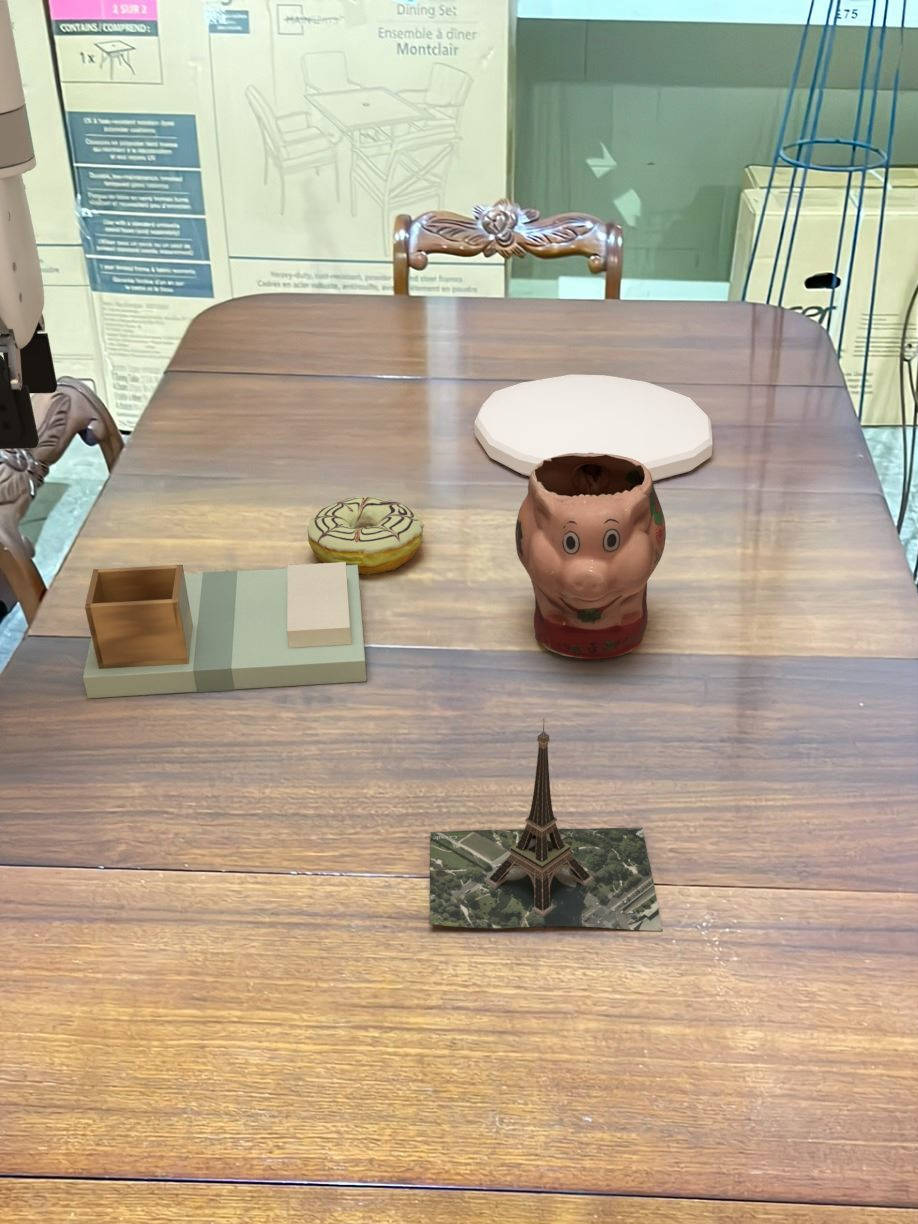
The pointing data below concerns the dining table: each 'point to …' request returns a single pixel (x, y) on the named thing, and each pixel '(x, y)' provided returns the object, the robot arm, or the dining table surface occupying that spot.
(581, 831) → the eiffel tower figurine
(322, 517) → the decorated donut
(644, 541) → the decorative planter
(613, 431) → the decorative plate
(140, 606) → the open wooden box
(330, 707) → the dining table surface
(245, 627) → the bed
